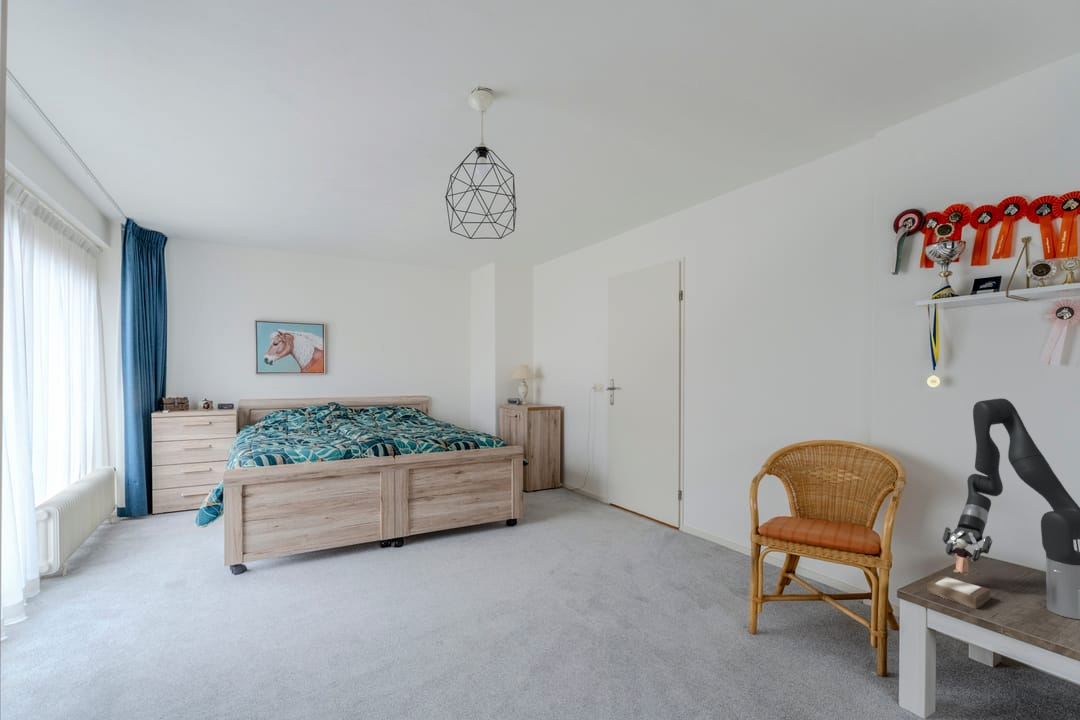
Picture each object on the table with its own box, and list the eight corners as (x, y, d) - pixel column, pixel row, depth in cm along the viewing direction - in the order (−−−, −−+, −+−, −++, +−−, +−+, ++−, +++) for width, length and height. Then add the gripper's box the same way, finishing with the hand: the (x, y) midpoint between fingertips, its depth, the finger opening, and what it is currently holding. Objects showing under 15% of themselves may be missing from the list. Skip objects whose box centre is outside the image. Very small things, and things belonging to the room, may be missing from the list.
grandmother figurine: (948, 571, 193) (946, 537, 193) (952, 569, 195) (950, 535, 195) (974, 578, 186) (972, 542, 187) (978, 575, 189) (976, 540, 189)
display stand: (990, 599, 179) (989, 588, 179) (975, 608, 173) (975, 596, 173) (942, 585, 191) (942, 574, 191) (927, 593, 185) (926, 581, 185)
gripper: (947, 509, 201) (934, 545, 195) (994, 518, 188) (981, 557, 182) (953, 521, 203) (941, 557, 197) (1000, 530, 191) (988, 569, 185)
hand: (960, 557), depth 190 cm, fingers closed on grandmother figurine, 7 cm apart
